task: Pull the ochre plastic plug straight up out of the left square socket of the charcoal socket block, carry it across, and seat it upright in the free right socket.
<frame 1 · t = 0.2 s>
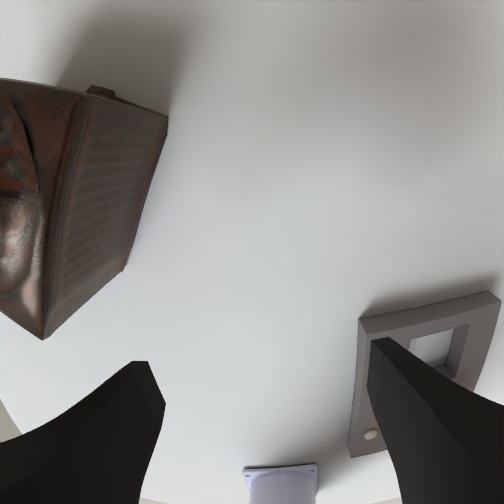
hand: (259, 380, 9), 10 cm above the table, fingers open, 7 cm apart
manual coffee grinder: (59, 160, 17), on the table
socket block: (417, 379, 21), on the table
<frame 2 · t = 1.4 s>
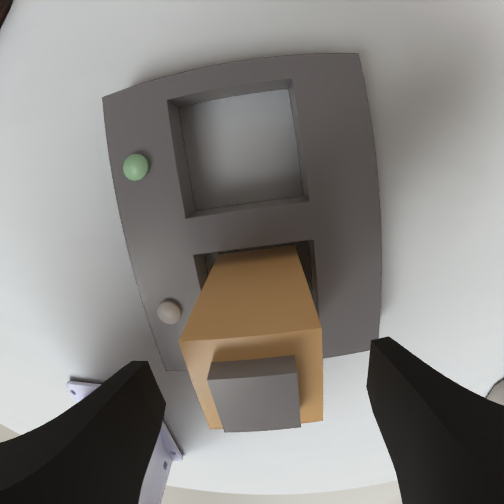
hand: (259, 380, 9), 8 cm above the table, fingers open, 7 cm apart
flask: (500, 394, 19), on the table
socket block: (251, 219, 15), on the table
plug: (261, 285, 16), resting in socket block
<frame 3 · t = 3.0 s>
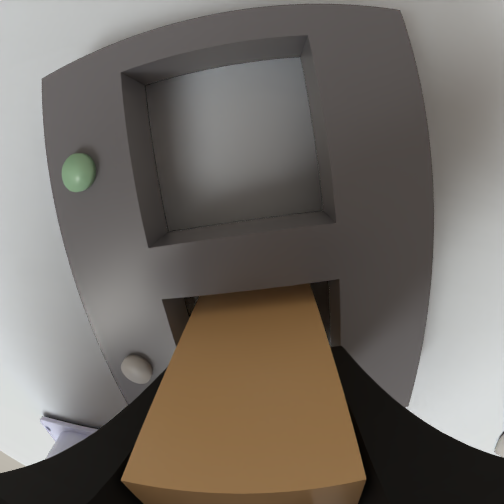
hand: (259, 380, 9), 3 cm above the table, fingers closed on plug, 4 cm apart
socket block: (247, 244, 10), on the table
plug: (261, 331, 12), resting in socket block, touching gripper
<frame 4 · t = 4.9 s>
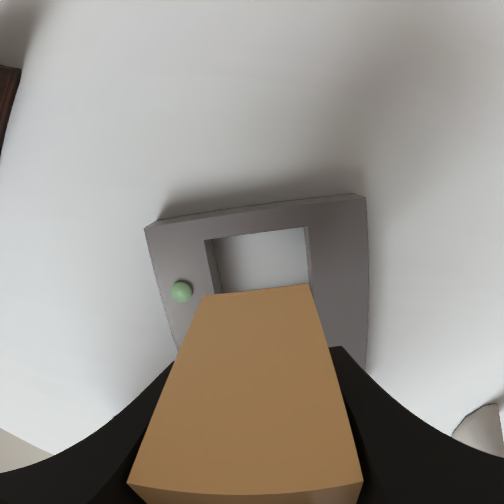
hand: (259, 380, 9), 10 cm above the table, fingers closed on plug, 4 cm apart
flask: (472, 422, 24), on the table
socket block: (269, 319, 19), on the table
plug: (261, 334, 12), point 7 cm above the table, touching gripper
when the fingers open (4 cm above the table, at t = 7.1 s): plug stays where it is, resting in socket block.
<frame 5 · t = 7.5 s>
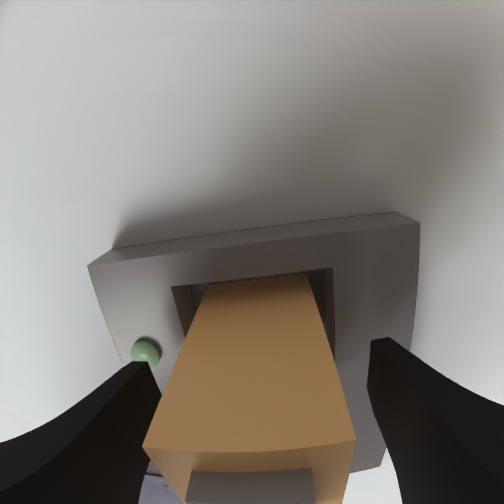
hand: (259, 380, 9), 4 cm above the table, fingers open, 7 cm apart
socket block: (271, 380, 14), on the table
plug: (262, 322, 13), resting in socket block
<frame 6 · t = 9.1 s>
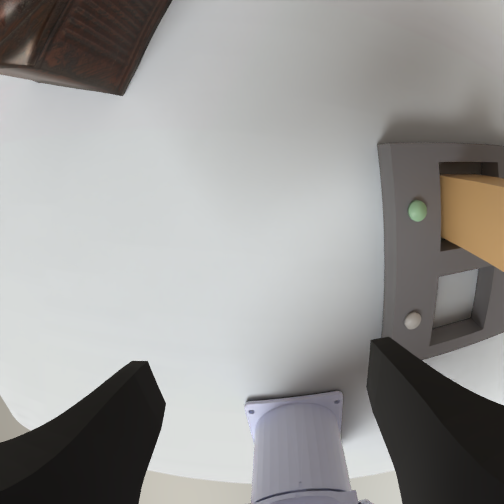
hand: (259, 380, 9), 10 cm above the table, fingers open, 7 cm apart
manual coffee grinder: (76, 21, 14), on the table
socket block: (455, 249, 18), on the table
plug: (456, 202, 17), resting in socket block
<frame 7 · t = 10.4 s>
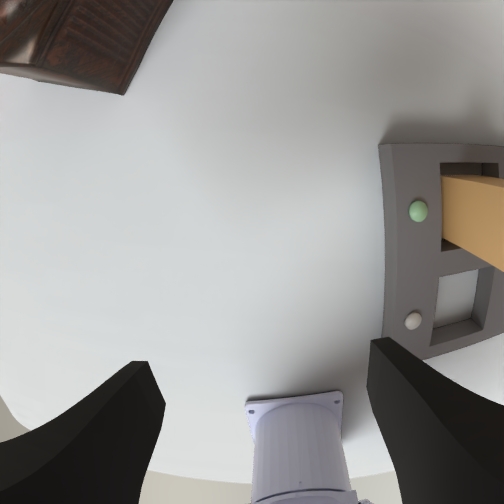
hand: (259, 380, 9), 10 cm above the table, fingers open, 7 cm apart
manual coffee grinder: (77, 21, 14), on the table
socket block: (455, 250, 18), on the table
plug: (456, 203, 17), resting in socket block
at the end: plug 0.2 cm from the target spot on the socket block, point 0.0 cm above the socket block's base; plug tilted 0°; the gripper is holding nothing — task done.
